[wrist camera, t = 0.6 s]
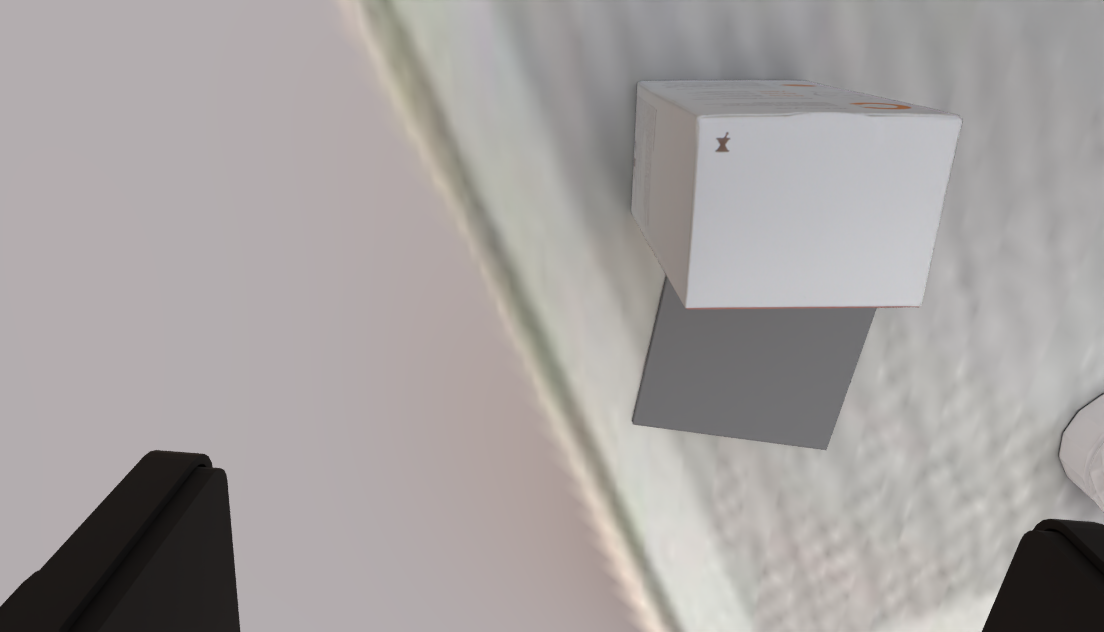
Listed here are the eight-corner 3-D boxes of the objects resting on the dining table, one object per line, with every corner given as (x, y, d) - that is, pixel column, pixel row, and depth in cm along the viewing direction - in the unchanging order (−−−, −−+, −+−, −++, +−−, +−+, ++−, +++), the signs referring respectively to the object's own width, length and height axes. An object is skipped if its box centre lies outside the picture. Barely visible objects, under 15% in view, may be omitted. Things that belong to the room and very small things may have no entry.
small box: (629, 215, 35) (679, 313, 23) (635, 78, 33) (693, 109, 21) (793, 214, 36) (926, 311, 24) (810, 79, 33) (969, 109, 21)
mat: (882, 279, 37) (885, 282, 37) (823, 446, 41) (826, 450, 40) (672, 247, 36) (674, 249, 36) (632, 420, 40) (633, 424, 39)
